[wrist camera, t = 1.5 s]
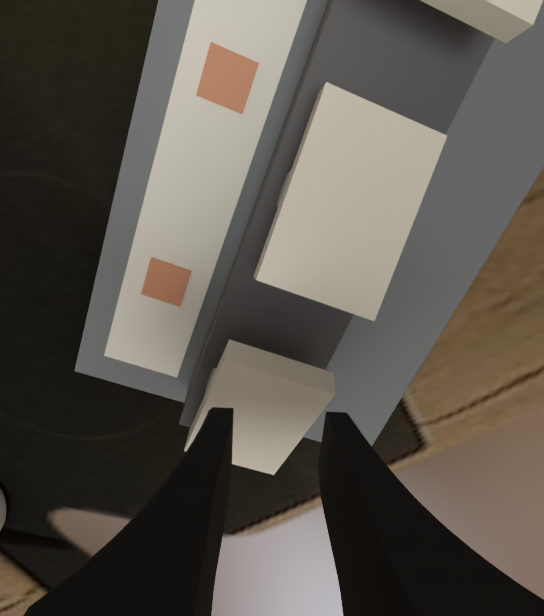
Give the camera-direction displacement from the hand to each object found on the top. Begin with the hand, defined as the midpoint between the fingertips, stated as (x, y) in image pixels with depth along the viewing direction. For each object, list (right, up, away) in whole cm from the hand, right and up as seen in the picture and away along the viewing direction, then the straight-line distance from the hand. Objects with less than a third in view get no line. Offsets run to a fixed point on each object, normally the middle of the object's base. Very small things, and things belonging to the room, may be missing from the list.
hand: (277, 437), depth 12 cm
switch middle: (+2, +7, +2) cm, 8 cm away
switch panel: (+2, +9, +6) cm, 11 cm away
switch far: (-1, +1, +5) cm, 5 cm away
